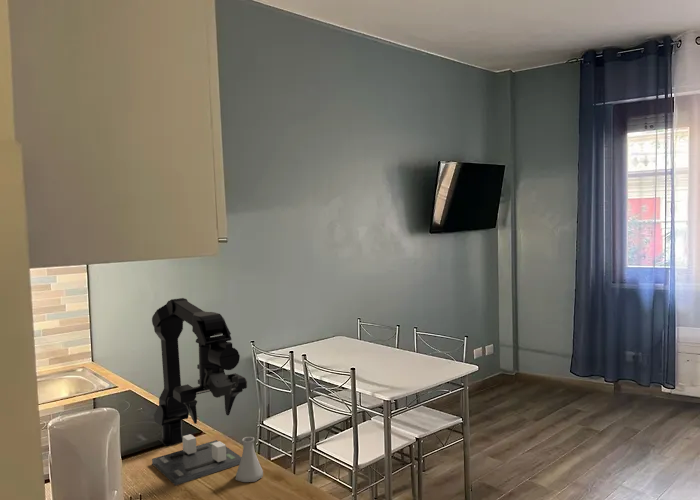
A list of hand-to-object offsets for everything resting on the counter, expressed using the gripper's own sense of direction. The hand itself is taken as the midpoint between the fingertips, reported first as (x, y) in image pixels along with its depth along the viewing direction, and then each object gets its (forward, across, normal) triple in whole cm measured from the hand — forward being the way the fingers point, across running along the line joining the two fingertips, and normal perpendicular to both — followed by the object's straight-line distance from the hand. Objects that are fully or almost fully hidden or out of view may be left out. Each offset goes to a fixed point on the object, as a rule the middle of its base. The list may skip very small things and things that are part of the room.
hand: (211, 419), depth 152 cm
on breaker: (+11, +2, 0) cm, 12 cm away
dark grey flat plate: (+13, -2, +5) cm, 14 cm away
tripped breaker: (+12, -2, +10) cm, 15 cm away
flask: (+13, +5, -11) cm, 18 cm away
